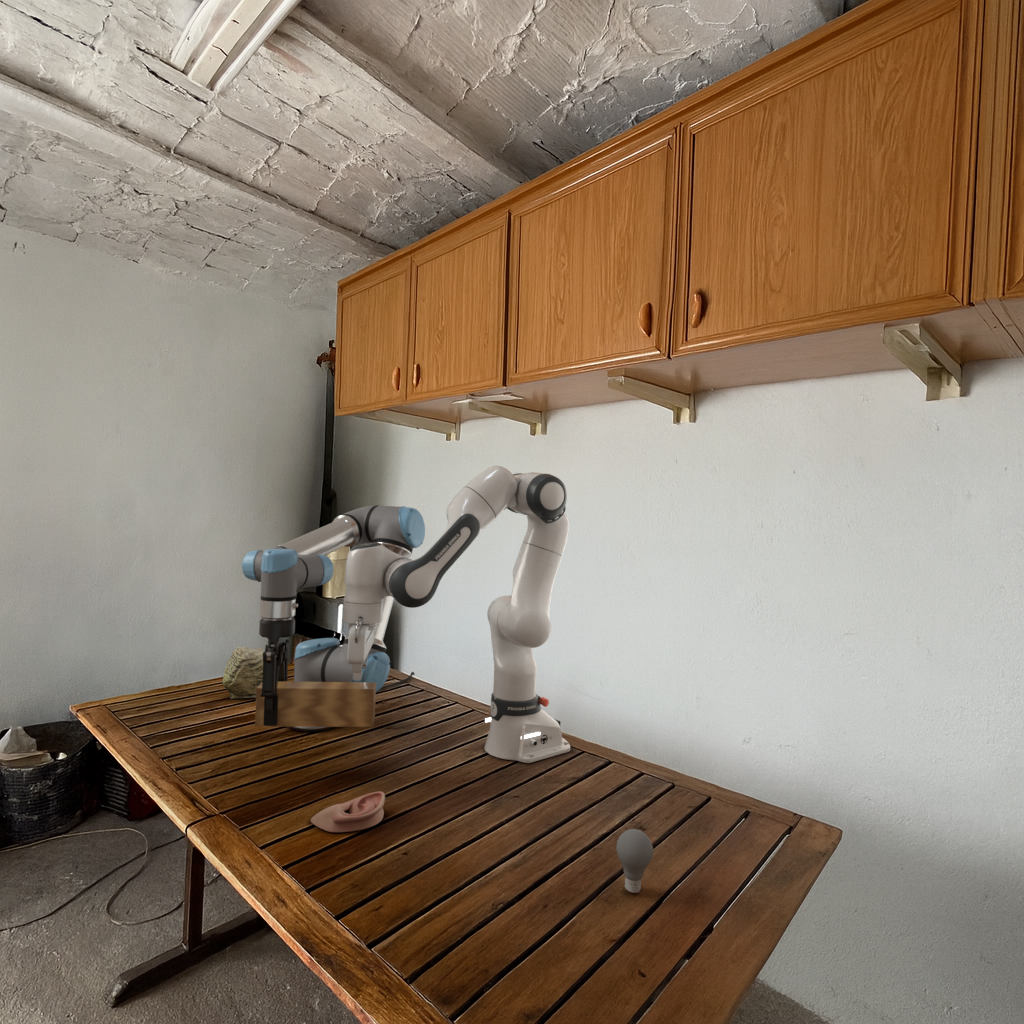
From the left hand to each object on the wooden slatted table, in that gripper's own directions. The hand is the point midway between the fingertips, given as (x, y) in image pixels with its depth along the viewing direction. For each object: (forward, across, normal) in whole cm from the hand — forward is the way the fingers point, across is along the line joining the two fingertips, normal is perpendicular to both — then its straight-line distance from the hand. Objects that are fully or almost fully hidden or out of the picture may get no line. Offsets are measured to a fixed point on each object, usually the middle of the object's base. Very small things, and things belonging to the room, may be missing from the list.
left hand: (273, 720), depth 143 cm
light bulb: (+12, -46, -70) cm, 84 cm away
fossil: (+12, +58, +20) cm, 62 cm away
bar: (0, 0, -9) cm, 9 cm away
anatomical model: (+12, -20, -20) cm, 31 cm away
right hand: (-11, 0, -19) cm, 22 cm away
